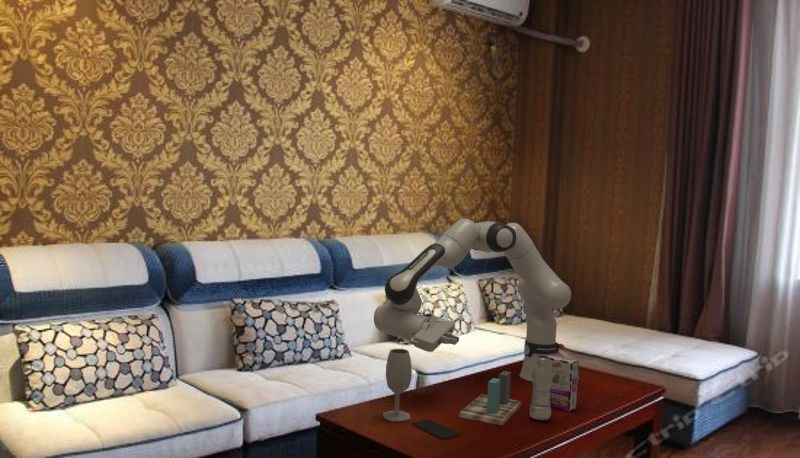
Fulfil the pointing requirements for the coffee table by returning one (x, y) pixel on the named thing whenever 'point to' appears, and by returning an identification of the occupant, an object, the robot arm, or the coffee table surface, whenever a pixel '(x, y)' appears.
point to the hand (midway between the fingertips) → (457, 341)
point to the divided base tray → (479, 413)
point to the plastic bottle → (541, 389)
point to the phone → (436, 429)
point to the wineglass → (398, 381)
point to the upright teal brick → (493, 395)
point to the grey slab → (505, 387)
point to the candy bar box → (563, 382)
